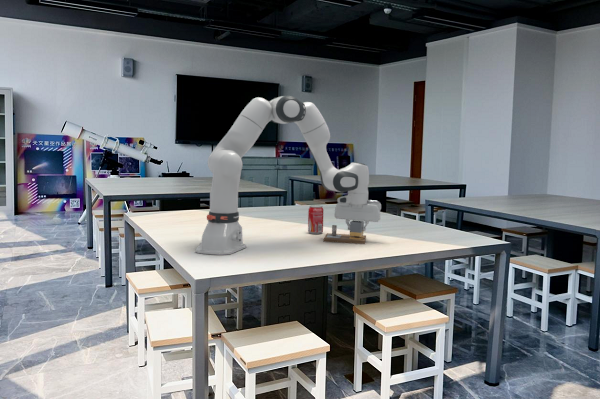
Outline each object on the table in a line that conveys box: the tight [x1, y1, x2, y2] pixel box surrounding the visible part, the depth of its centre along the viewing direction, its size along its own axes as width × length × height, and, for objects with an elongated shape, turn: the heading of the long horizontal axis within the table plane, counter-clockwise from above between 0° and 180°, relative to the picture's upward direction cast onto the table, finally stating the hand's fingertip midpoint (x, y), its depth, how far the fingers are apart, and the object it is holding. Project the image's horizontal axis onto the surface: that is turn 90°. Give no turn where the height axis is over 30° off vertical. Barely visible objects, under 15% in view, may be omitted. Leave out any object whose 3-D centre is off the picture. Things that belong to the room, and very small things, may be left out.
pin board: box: [322, 224, 367, 245], centre depth 222 cm, size 14×18×6 cm
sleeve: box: [349, 220, 365, 236], centre depth 221 cm, size 5×5×6 cm
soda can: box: [307, 204, 324, 235], centre depth 236 cm, size 7×7×13 cm
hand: (356, 230), depth 221 cm, fingers closed on sleeve, 5 cm apart
